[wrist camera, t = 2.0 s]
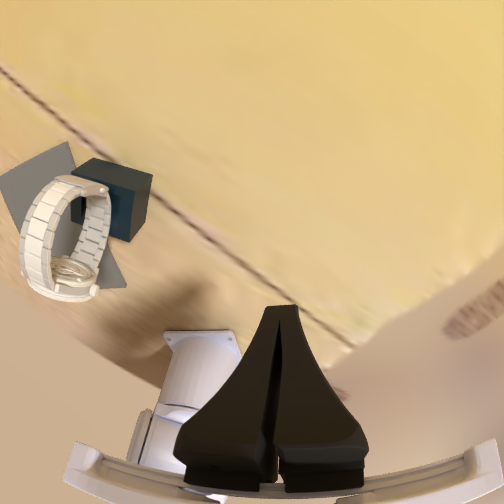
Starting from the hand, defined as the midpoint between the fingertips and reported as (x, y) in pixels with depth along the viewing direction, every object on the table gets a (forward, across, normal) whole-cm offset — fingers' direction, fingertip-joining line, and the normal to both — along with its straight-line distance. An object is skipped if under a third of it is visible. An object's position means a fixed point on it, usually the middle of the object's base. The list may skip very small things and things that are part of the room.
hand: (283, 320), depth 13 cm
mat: (+10, +22, -2) cm, 24 cm away
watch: (+11, +13, -4) cm, 17 cm away
